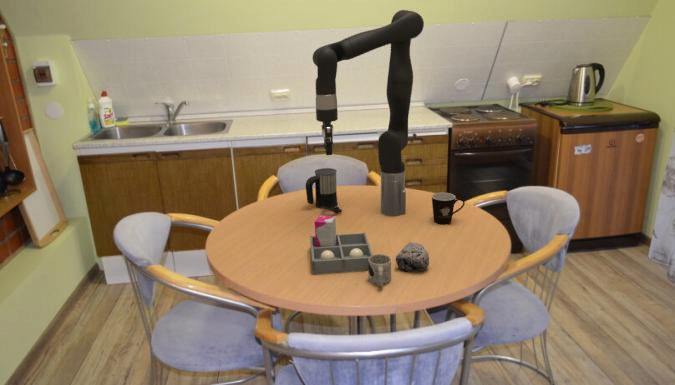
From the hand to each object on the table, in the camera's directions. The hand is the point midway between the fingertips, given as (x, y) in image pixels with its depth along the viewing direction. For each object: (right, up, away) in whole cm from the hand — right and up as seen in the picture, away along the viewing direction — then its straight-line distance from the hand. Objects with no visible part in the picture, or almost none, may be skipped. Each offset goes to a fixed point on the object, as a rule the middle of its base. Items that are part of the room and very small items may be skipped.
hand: (328, 151), depth 185 cm
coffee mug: (+44, -26, +8) cm, 52 cm away
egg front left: (+9, -37, -22) cm, 44 cm away
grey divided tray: (+4, -36, -18) cm, 40 cm away
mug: (+16, -41, -33) cm, 55 cm away
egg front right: (0, -37, -23) cm, 43 cm away
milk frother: (0, -21, +25) cm, 33 cm away
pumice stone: (+26, -38, -25) cm, 52 cm away
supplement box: (0, -34, -14) cm, 37 cm away
